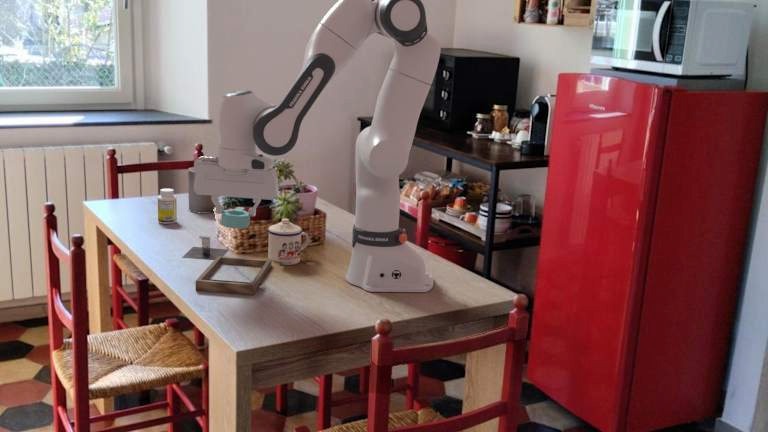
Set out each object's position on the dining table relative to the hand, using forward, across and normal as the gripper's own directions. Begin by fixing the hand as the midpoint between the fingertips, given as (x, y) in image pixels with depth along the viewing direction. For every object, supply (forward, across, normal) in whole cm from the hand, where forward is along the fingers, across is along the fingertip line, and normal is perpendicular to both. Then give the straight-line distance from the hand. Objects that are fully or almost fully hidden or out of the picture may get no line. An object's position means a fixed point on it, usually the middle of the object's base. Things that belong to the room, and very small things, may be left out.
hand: (235, 214), depth 198 cm
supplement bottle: (+17, -33, +47) cm, 60 cm away
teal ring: (+3, 0, +2) cm, 3 cm away
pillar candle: (+17, -27, +65) cm, 72 cm away
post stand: (+17, -12, +16) cm, 26 cm away
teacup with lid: (+17, +10, +19) cm, 27 cm away
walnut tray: (+17, 0, 0) cm, 17 cm away
